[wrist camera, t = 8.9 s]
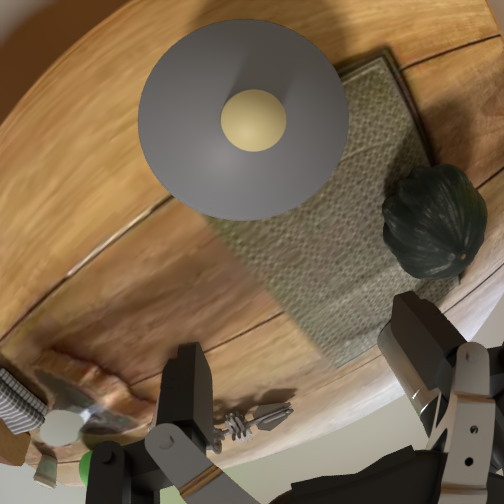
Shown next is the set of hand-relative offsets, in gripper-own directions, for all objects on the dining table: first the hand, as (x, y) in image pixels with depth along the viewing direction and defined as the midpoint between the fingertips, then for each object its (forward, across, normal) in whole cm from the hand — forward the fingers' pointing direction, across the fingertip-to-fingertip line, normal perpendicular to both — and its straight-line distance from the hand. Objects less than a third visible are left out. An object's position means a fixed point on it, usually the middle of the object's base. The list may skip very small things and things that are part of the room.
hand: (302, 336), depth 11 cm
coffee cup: (+25, +83, +69) cm, 111 cm away
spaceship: (+26, +16, +45) cm, 55 cm away
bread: (+25, +94, +50) cm, 110 cm away
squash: (+26, -23, +7) cm, 35 cm away
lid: (+18, -1, -8) cm, 19 cm away
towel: (+25, +63, +32) cm, 75 cm away
